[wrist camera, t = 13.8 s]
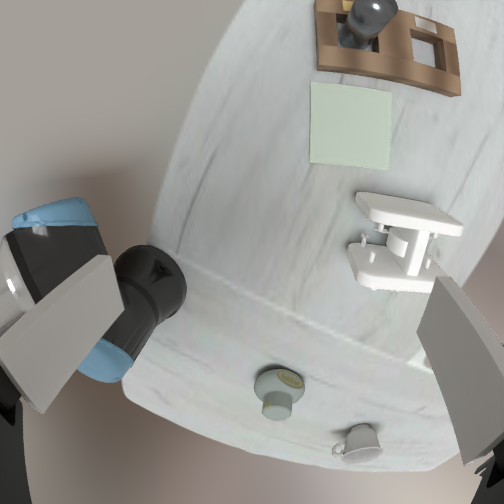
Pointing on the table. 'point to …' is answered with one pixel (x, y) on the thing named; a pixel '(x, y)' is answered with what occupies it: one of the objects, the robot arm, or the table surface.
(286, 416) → the air freshener
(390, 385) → the table surface
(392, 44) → the socket block
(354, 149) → the mat
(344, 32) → the plug
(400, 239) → the cable organizer
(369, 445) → the teacup
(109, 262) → the robot arm
